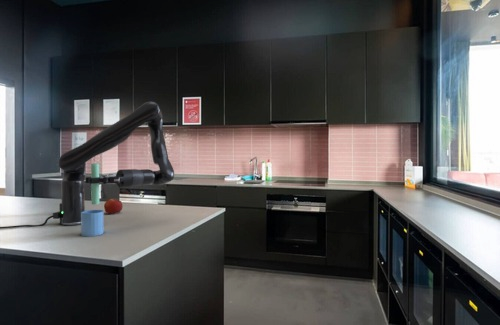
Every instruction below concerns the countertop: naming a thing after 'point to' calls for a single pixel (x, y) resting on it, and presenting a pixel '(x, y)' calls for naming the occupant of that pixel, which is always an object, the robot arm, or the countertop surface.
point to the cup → (92, 223)
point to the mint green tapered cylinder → (95, 184)
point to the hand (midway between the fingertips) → (87, 180)
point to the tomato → (113, 206)
